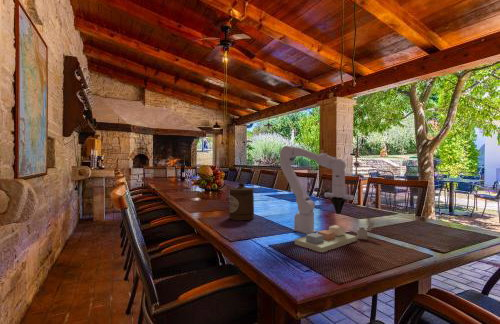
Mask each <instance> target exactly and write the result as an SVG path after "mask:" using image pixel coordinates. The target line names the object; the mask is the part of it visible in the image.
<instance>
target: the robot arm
mask: <svg viewBox="0 0 500 324" xmlns="http://www.w3.org/2000/svg"><path fill="white" fill-rule="evenodd" d="M297 157H303V158H307V159H310V160H313V161H315V162H316V163H317V165H319V166H322V167H324V168H327V169H330V170H332V177H331V178H332V179H331V184H332V185H331V192H324V197H325V198H331V199H330V201H331V203H332V204H333V207H334V210H335V214H336V215H339V214H342V211H343V207H344V204H345V203H346V201H347V200H350V201H353V200H354V198H355V197H354V196H355V195H353V194H346V175H345V171H346V170H345V169H346V166H347V165H346V162H345V161H344V160H343V159H341V158H338V157H337V156H334V157H333V156H331V155H328V153H327V152H324V153H323V152H321V153H319V154H317V153H315V152H312V151H309V150H307V149H305V148H301V147H296V146H289V145H285V146H282V148H281V149H280V152H279V158H280V159H279V161H280V163H279V165H280V168H281V170H282V172H283V175H284V177H285V179H286V181H287V183H288V184H289V187H290V189H292V191H293V194H294V195H295V197H296V199H295V201H296V204H297V210H298V212H296V213H295V215H294V217H293V218H294V221H293V223H294V224H293V225H294V226H293V229H292V230H293V231H295V232H298V233H302V234H306V235H307V234H311V233H318V230H317V229H315V212H314V210H315V208H316V203H315V201H314V200H313V199H311V198H310V195H308V194H307V193H306V191H305V189H304V187H303V185H302V184H301V182H300V180H299V178H298V176H297V174H296V172H295V170H294V169H293V167H292V164H293V162H294V160H295V159H296V158H297Z"/></svg>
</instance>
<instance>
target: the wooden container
mask: <svg viewBox="0 0 500 324" xmlns="http://www.w3.org/2000/svg"><path fill="white" fill-rule="evenodd" d="M254 191H255V190H254V188H253V187H247V186H245V183H244V182H243V181H240V182H239V183H238V186H236V187H230V188H229V191H228V193H229V202H228V203H229V206H228V207H229V209H228V210H229V211H228V212H229V213H228V214H229V216H228V217H229V220H231V219H233V220H232V221H235V220H248V221H251V220H250V219H252V220H254V219H253V218H255V206H254V205H255V203H254V202H255V201H254V199H255V198H254V196H255V195H254Z"/></svg>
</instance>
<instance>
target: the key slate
mask: <svg viewBox="0 0 500 324" xmlns="http://www.w3.org/2000/svg"><path fill="white" fill-rule="evenodd" d="M316 233H317V232H314V233H310V234H306V235H305V236H306V242H309V243H313V244H319V243H322V242H323V235H320V234H316Z"/></svg>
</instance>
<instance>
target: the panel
mask: <svg viewBox="0 0 500 324" xmlns="http://www.w3.org/2000/svg"><path fill="white" fill-rule="evenodd" d="M328 231H329V229H328ZM315 233H316V234H318V232H315ZM357 240H358V239H357V235H352V234H348V233H345V234H343V235H339V236H338V235H335V239H332V240H329V241H327V240H323V242H322V243H319V244H313V243H309V242H306V235H305V236H302V237H299V238H295V239H294V245H296V246H300V247H303V248H306V249H308V248H309V250H311V249H312V250H311V251H315V252H318V253H321V252H322V253H321V254H323V253H326V252H329V251H331V249H332V250H334V249H337V248H339V247H343V246H345V245H347V244H351V243H355V242H356V241H357ZM328 250H329V251H328Z"/></svg>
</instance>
